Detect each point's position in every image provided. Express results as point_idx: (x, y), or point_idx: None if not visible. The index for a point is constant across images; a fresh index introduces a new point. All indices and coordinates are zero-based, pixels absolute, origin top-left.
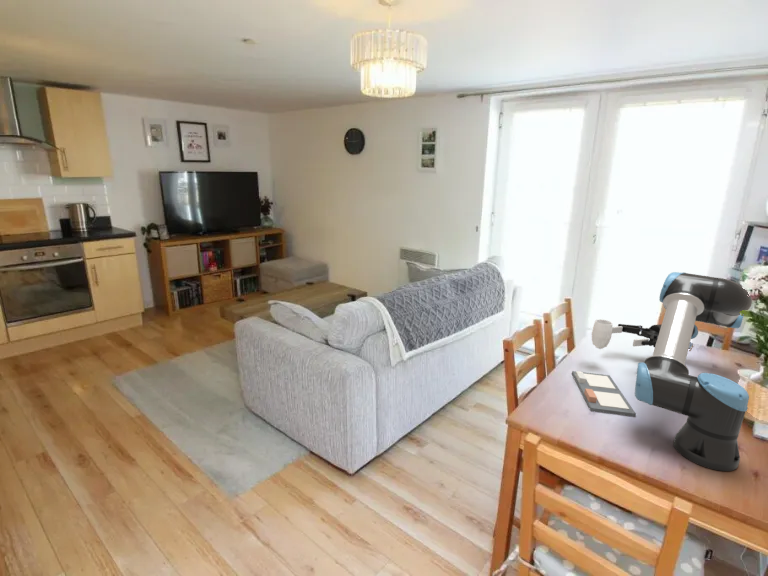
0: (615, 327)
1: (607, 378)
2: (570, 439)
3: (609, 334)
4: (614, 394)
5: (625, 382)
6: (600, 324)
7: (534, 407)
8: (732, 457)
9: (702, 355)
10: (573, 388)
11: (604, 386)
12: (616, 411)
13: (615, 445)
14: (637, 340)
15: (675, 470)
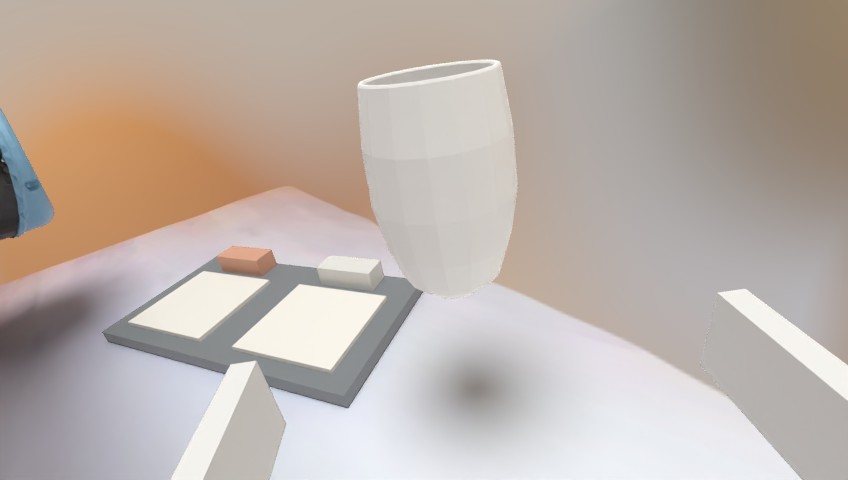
0: (812, 371)
1: (312, 359)
2: (190, 221)
3: (367, 177)
4: (209, 323)
5: None
6: (398, 80)
7: (298, 203)
8: None
9: None
10: None
11: (267, 318)
12: (158, 295)
13: (114, 262)
14: (217, 399)
15: None
